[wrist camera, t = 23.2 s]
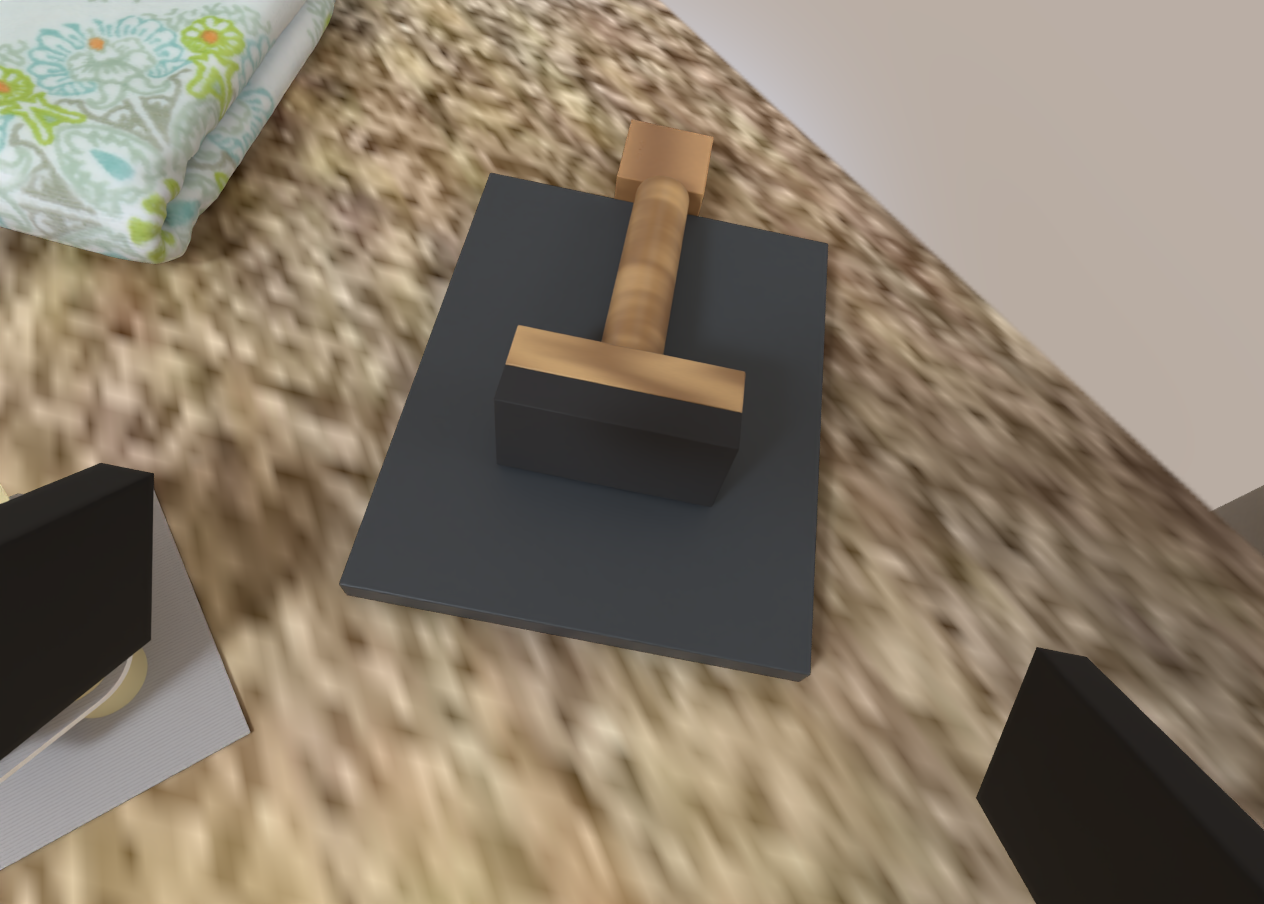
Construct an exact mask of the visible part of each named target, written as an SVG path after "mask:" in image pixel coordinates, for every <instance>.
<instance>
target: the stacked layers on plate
mask: <svg viewBox="0 0 1264 904" xmlns="http://www.w3.org/2000/svg"><path fill="white" fill-rule="evenodd" d="M21 495H23V494H15V495H13V496H10V497H8V496H7V494H6V492H5V491H4V489H3V487H2V486H1V484H0V504H1V503H4V502H6V501H9V500H11V499H14V498H16V497H18V496H21ZM249 733H250V730H249V728H248V725H247V723H246V720H245V718H244V715H243V713H242V710H241V708H240V705H239V703H238V700H237V698H236V695H235V693H234V690H233V687H232V685H231V682H230V680H229V677H228V675H227V672H226V670H225V667H224V665H223V662H222V660H221V657H220V655H219V652H218V650H217V647H216V645H215V642H214V640H213V637H212V635H211V632H210V630H209V627H208V625H207V622H206V620H205V617H204V615H203V612H202V609H201V607H200V604H199V602H198V599H197V597H196V594H195V592H194V589H193V587H192V584H191V582H190V579H189V577H188V574H187V572H186V569H185V567H184V564H183V562H182V559H181V557H180V554H179V552H178V549H177V547H176V544H175V542H174V539H173V537H172V534H171V532H170V529H169V526H168V524H167V521H166V519H165V516H164V514H163V511H162V509H161V506H160V504H159V501H158V499H157V496H156V494H155V491H154V498H153V559H152V619H151V641H149V642H148V643H147V644H146V645H144V646H143V647H142V648H141V649H139V650H138V651H137V652H136V653H134V654H133V655H132V656H131V657H129V658H128V659H127V660H126V661H124V662H123V663H122V664H121V665H119V666H118V667H117V668H116V669H114V670H113V671H112V672H111V673H109V674H108V675H107V676H106V677H104V678H103V679H102V680H101V681H99V682H98V683H97V684H96V685H94V686H93V687H92V688H91V689H89V690H88V691H87V692H86V693H84V694H83V695H82V696H81V697H79V698H78V699H77V700H76V701H74V702H73V703H72V704H71V705H69V706H68V707H67V708H66V709H64V710H63V711H62V712H61V713H59V714H58V715H57V716H56V717H54V718H53V719H52V720H51V721H49V722H48V723H47V724H46V725H44V726H43V727H42V728H41V729H39V730H38V731H37V732H36V733H34V734H33V735H32V736H31V737H29V738H28V739H27V740H25V741H24V742H23V743H22V744H20V745H19V746H18V747H17V748H15V749H14V750H13V751H12V752H10V753H9V754H8V755H7V756H5V757H4V758H3V759H2V760H0V870H1V869H3V868H5V867H7V866H9V865H11V864H12V863H14V862H16V861H18V860H20V859H21V858H23V857H25V856H27V855H29V854H31V853H32V852H34V851H36V850H38V849H40V848H42V847H43V846H45V845H47V844H49V843H51V842H52V841H54V840H56V839H58V838H60V837H62V836H63V835H65V834H67V833H69V832H71V831H73V830H74V829H76V828H78V827H80V826H82V825H83V824H85V823H87V822H89V821H91V820H93V819H94V818H96V817H98V816H100V815H102V814H103V813H105V812H107V811H109V810H111V809H113V808H114V807H116V806H118V805H120V804H122V803H124V802H125V801H127V800H129V799H131V798H133V797H134V796H136V795H138V794H140V793H142V792H144V791H145V790H147V789H149V788H151V787H153V786H155V785H156V784H158V783H160V782H162V781H164V780H165V779H167V778H169V777H171V776H173V775H175V774H176V773H178V772H180V771H182V770H184V769H185V768H187V767H189V766H191V765H193V764H195V763H196V762H198V761H200V760H202V759H204V758H206V757H207V756H209V755H211V754H213V753H215V752H216V751H218V750H220V749H222V748H224V747H226V746H227V745H229V744H231V743H233V742H235V741H237V740H238V739H240V738H242V737H244V736H246V735H247V734H249Z"/></svg>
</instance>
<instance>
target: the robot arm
mask: <svg viewBox="0 0 1264 904" xmlns="http://www.w3.org/2000/svg"><path fill="white" fill-rule="evenodd" d="M153 498H154V473H149V472H144V471H139V470H134V469H129V468H124V467H119V466H114V465H109V464H103V463H99V464H97V465H95V466H92V467H90V468H87V469H85V470H82V471H80V472H77V473H75V474H72V475H70V476H68V477H65V478H63V479H60V480H58V481H55V482H53V483H50V484H48V485H45V486H43V487H41V488H38V489H36V490H33V491H31V492H28V493H26V494H23V495H21V496H18V497H16V498H14V499H11V500H9V501H6V502H4V503H1V504H0V760H2V759H3V758H4V757H5V756H7V755H8V754H9V753H10V752H12V751H13V750H14V749H15V748H17V747H18V746H19V745H20V744H22V743H23V742H24V741H25V740H27V739H28V738H29V737H31V736H32V735H33V734H34V733H36V732H37V731H38V730H39V729H41V728H42V727H43V726H44V725H46V724H47V723H48V722H49V721H51V720H52V719H53V718H54V717H56V716H57V715H58V714H59V713H61V712H62V711H63V710H64V709H66V708H67V707H68V706H69V705H71V704H72V703H73V702H74V701H76V700H77V699H78V698H79V697H81V696H82V695H83V694H84V693H86V692H87V691H88V690H89V689H91V688H92V687H93V686H94V685H96V684H97V683H98V682H99V681H101V680H102V679H103V678H104V677H106V676H107V675H108V674H109V673H111V672H112V671H113V670H114V669H116V668H117V667H118V666H119V665H121V664H122V663H123V662H124V661H126V660H127V659H128V658H129V657H131V656H132V655H133V654H134V653H136V652H137V651H138V650H139V649H141V648H142V647H143V646H144V645H146V644H147V643H148V642H149V641H151V619H152V559H153ZM976 799H977V800H978V802H979V804H980V806H981V807H982V809H983V811H984V813H985V814H986V816H987V818H988V820H989V822H990V823H991V825H992V827H993V829H994V830H995V832H996V834H997V836H998V837H999V839H1000V841H1001V843H1002V844H1003V846H1004V848H1005V850H1006V851H1007V853H1008V855H1009V857H1010V858H1011V860H1012V862H1013V864H1014V865H1015V867H1016V869H1017V871H1018V872H1019V874H1020V876H1021V878H1022V880H1023V881H1024V883H1025V885H1026V887H1027V888H1028V890H1029V892H1030V894H1031V895H1032V897H1033V899H1034V901H1035V902H1036V904H1264V830H1263V829H1262V828H1261V827H1260V826H1259V825H1258V824H1257V823H1256V822H1255V821H1254V820H1253V819H1252V818H1251V817H1250V816H1249V815H1248V814H1247V813H1246V812H1244V811H1243V810H1242V809H1241V808H1240V807H1239V806H1238V805H1237V804H1236V803H1235V802H1234V801H1233V800H1232V799H1231V798H1230V797H1229V796H1228V795H1227V794H1226V793H1225V792H1224V791H1223V790H1222V789H1221V788H1220V787H1219V786H1218V785H1217V784H1216V783H1215V782H1214V781H1213V780H1212V779H1211V778H1210V777H1209V776H1208V775H1207V774H1206V773H1205V772H1204V771H1203V770H1202V769H1201V768H1199V767H1198V766H1197V765H1196V764H1195V763H1194V762H1193V761H1192V760H1191V759H1190V758H1189V757H1188V756H1187V755H1186V754H1185V753H1184V752H1183V751H1182V750H1181V749H1180V748H1179V747H1178V746H1177V745H1176V744H1175V743H1174V742H1173V741H1172V740H1171V739H1170V738H1169V737H1168V736H1167V735H1166V734H1165V733H1164V732H1163V731H1162V730H1161V729H1160V728H1159V727H1158V726H1157V725H1156V724H1155V723H1153V722H1152V721H1151V720H1150V719H1149V718H1148V717H1147V716H1146V715H1145V714H1144V713H1143V712H1142V711H1141V710H1140V709H1139V708H1138V707H1137V706H1136V705H1135V704H1134V703H1133V702H1132V701H1131V700H1130V699H1129V698H1128V697H1127V696H1126V695H1125V694H1124V693H1123V692H1122V691H1121V690H1120V689H1119V688H1118V687H1117V686H1116V685H1115V684H1114V683H1113V682H1112V681H1111V680H1110V679H1109V678H1107V677H1106V676H1105V675H1104V674H1103V673H1102V672H1101V671H1100V670H1099V669H1098V668H1097V667H1096V666H1095V665H1094V664H1093V663H1092V662H1091V661H1090V660H1089V659H1088V658H1087V657H1084V656H1079V655H1073V654H1068V653H1063V652H1058V651H1053V650H1048V649H1043V648H1038V647H1037V648H1036V650H1035V653H1034V655H1033V658H1032V660H1031V663H1030V665H1029V668H1028V670H1027V673H1026V675H1025V678H1024V680H1023V683H1022V685H1021V688H1020V690H1019V692H1018V695H1017V697H1016V700H1015V702H1014V705H1013V707H1012V710H1011V712H1010V715H1009V717H1008V720H1007V722H1006V725H1005V727H1004V730H1003V732H1002V735H1001V737H1000V740H999V742H998V745H997V747H996V750H995V752H994V755H993V757H992V760H991V762H990V765H989V767H988V770H987V772H986V775H985V777H984V779H983V782H982V784H981V787H980V789H979V792H978V794H977V797H976Z"/></svg>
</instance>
